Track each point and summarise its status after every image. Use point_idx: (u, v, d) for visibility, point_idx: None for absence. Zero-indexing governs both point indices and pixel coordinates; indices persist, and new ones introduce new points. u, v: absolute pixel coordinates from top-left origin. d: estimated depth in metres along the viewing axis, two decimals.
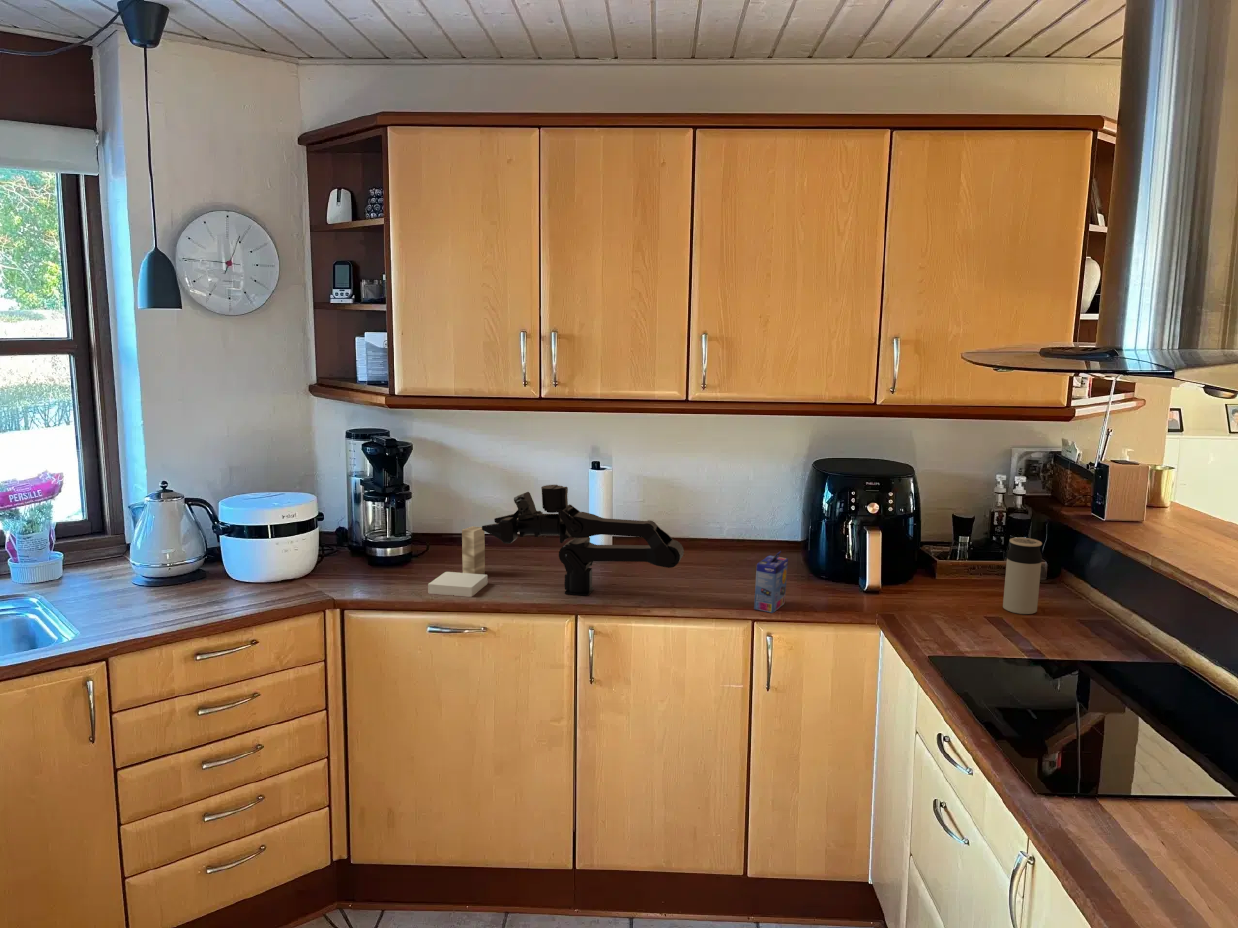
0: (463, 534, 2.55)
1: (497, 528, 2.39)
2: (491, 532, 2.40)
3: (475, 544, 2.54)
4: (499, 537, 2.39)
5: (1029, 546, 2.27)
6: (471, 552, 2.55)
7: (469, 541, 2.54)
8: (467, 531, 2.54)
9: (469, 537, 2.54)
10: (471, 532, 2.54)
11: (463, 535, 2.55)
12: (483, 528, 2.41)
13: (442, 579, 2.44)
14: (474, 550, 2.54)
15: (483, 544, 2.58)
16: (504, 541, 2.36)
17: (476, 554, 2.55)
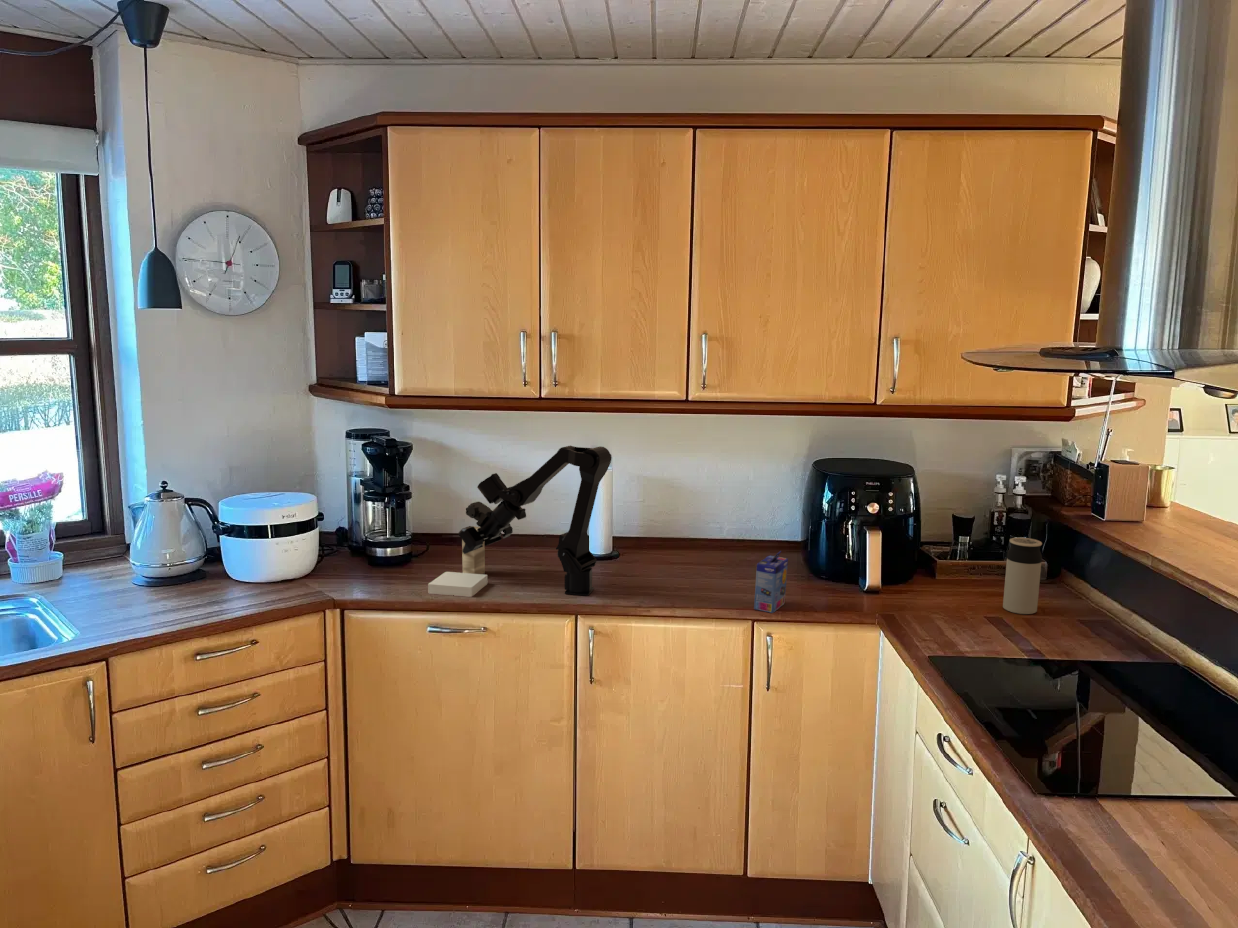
0: None
1: None
2: (469, 549, 2.53)
3: None
4: None
5: (1029, 546, 2.27)
6: (471, 552, 2.55)
7: None
8: None
9: None
10: None
11: None
12: (464, 551, 2.55)
13: (442, 579, 2.44)
14: (474, 550, 2.54)
15: (483, 544, 2.58)
16: (470, 547, 2.46)
17: (476, 553, 2.55)
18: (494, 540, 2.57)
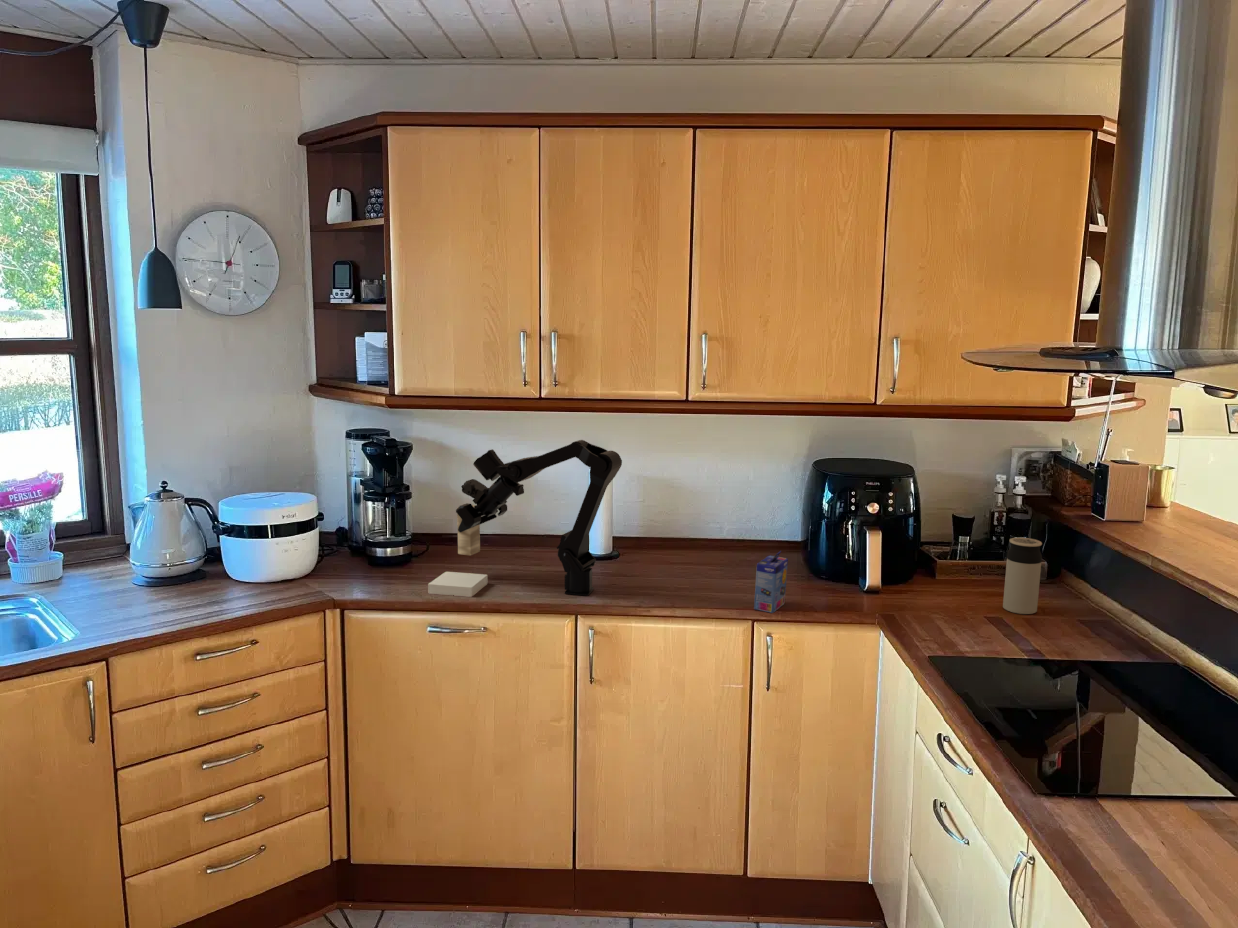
0: None
1: None
2: (465, 527, 2.49)
3: None
4: None
5: (1029, 546, 2.27)
6: (467, 530, 2.51)
7: None
8: None
9: None
10: None
11: None
12: (459, 530, 2.51)
13: (442, 579, 2.44)
14: (470, 528, 2.51)
15: None
16: (468, 525, 2.42)
17: (472, 532, 2.52)
18: (490, 518, 2.54)
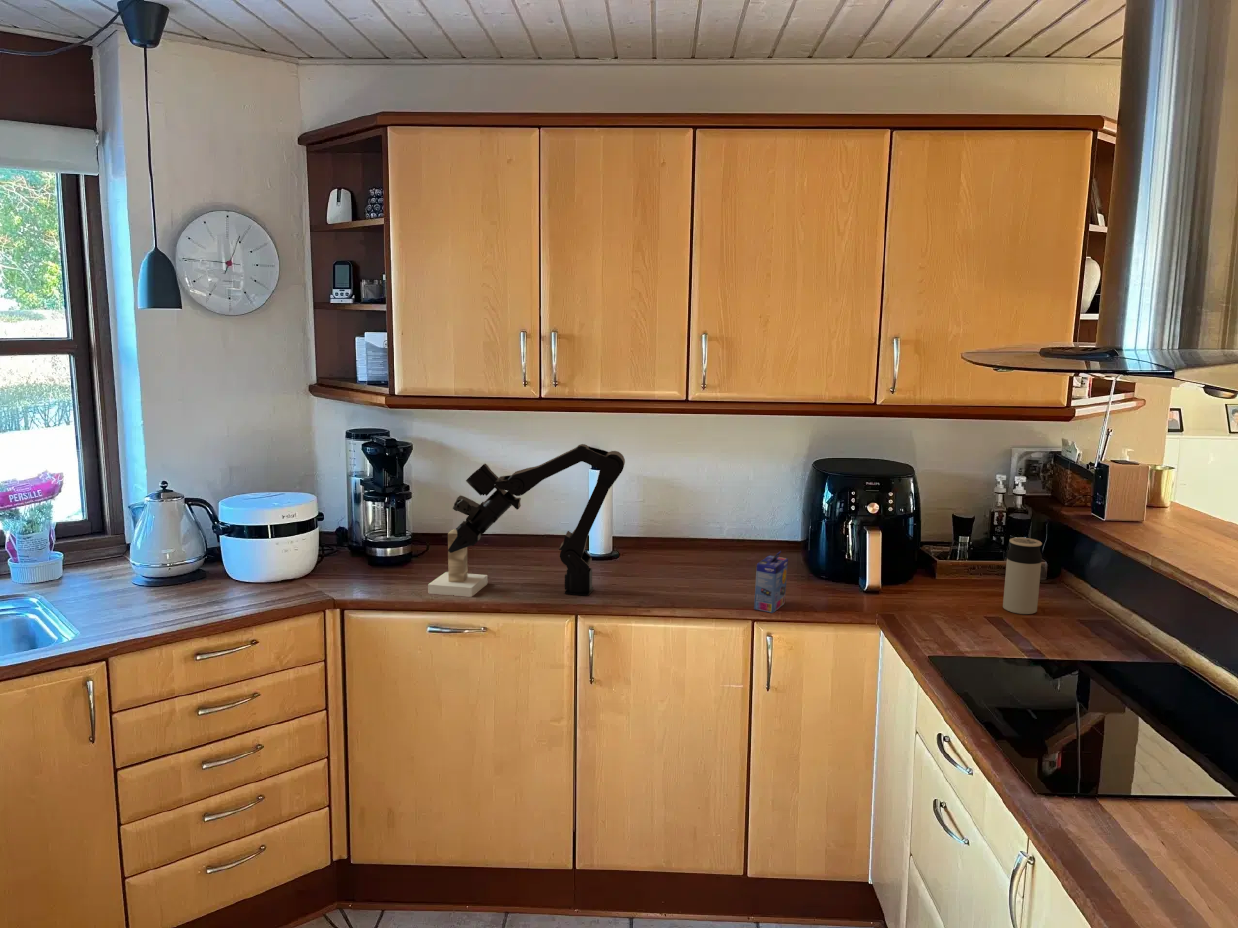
0: (449, 538, 2.40)
1: (460, 540, 2.38)
2: (458, 547, 2.38)
3: None
4: (467, 545, 2.37)
5: (1029, 546, 2.27)
6: (459, 556, 2.41)
7: None
8: (454, 534, 2.40)
9: None
10: None
11: (449, 539, 2.40)
12: (450, 550, 2.39)
13: (442, 579, 2.44)
14: (463, 553, 2.41)
15: (466, 547, 2.45)
16: (472, 543, 2.33)
17: (464, 557, 2.42)
18: None
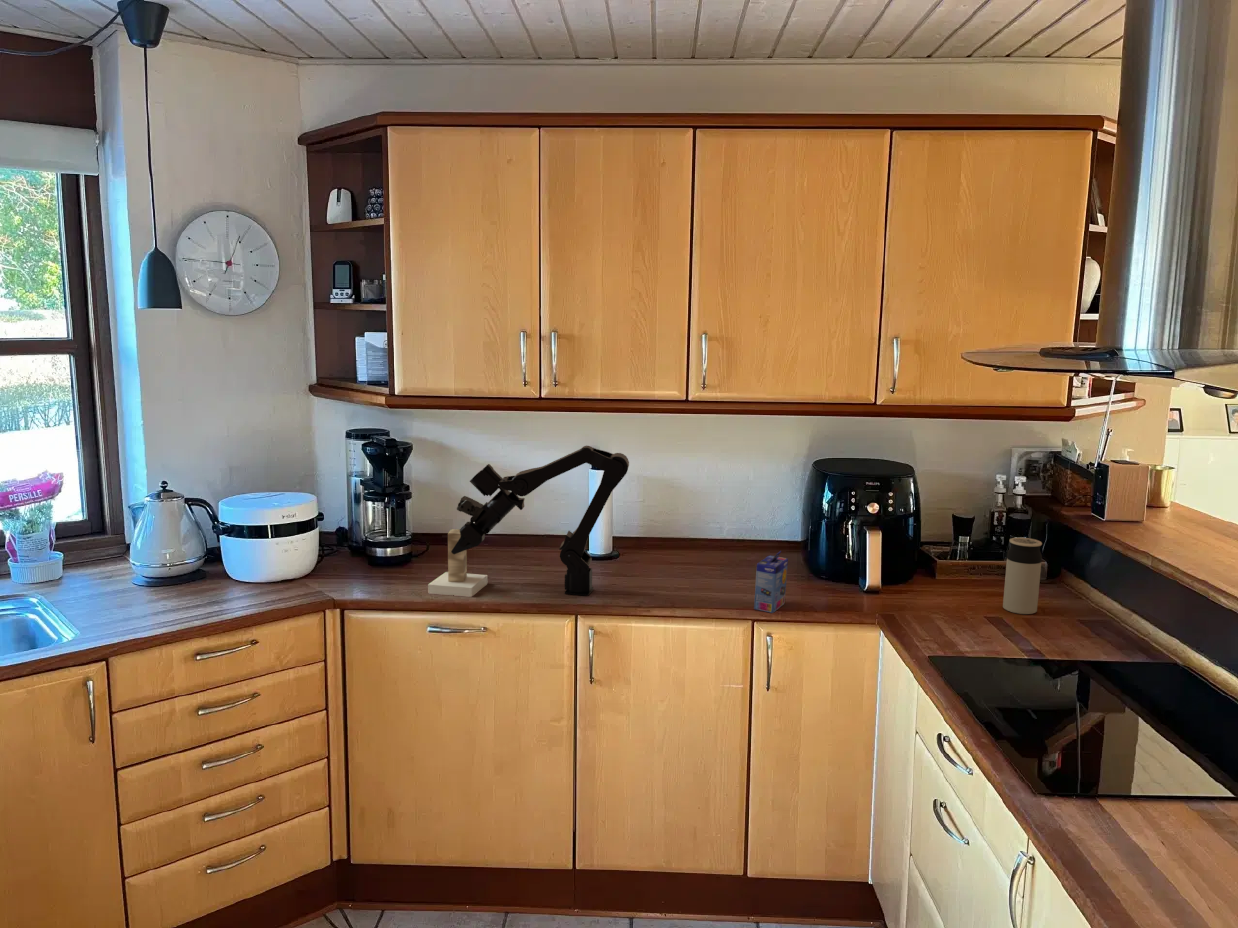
0: (449, 538, 2.40)
1: (463, 541, 2.37)
2: (462, 549, 2.37)
3: None
4: (470, 546, 2.36)
5: (1029, 546, 2.27)
6: (459, 555, 2.41)
7: None
8: (454, 534, 2.40)
9: (457, 540, 2.40)
10: None
11: (449, 539, 2.40)
12: (453, 552, 2.38)
13: (442, 579, 2.44)
14: (463, 553, 2.41)
15: None
16: (476, 544, 2.33)
17: (464, 557, 2.42)
18: (483, 533, 2.47)
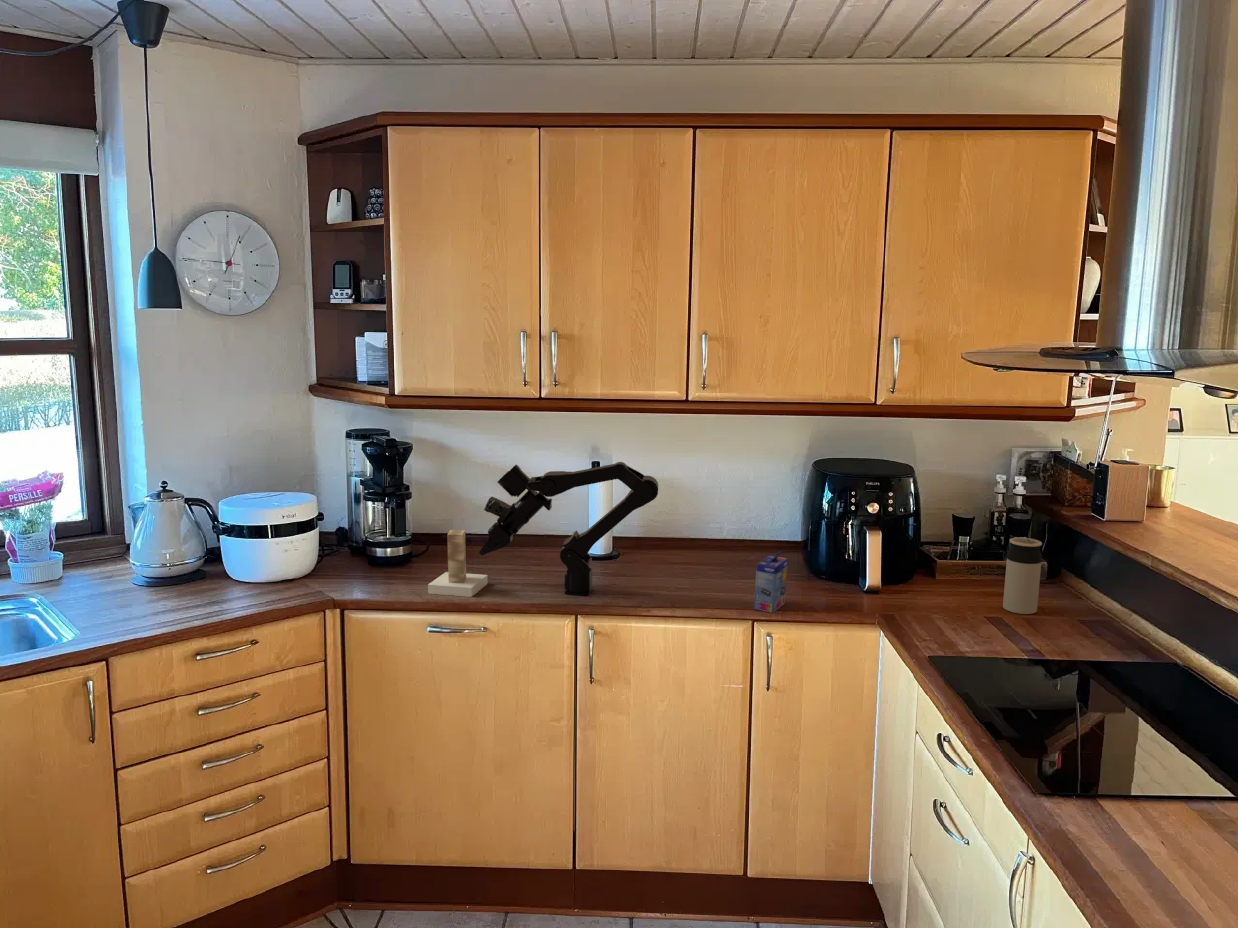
0: (449, 539, 2.40)
1: (491, 542, 2.36)
2: (490, 549, 2.37)
3: (463, 548, 2.41)
4: (499, 547, 2.36)
5: (1029, 546, 2.27)
6: (459, 556, 2.41)
7: (457, 545, 2.40)
8: (454, 535, 2.39)
9: (457, 541, 2.40)
10: (459, 536, 2.40)
11: (449, 540, 2.40)
12: (481, 552, 2.38)
13: (442, 580, 2.44)
14: (463, 554, 2.41)
15: (465, 547, 2.45)
16: (504, 544, 2.33)
17: (463, 558, 2.42)
18: None
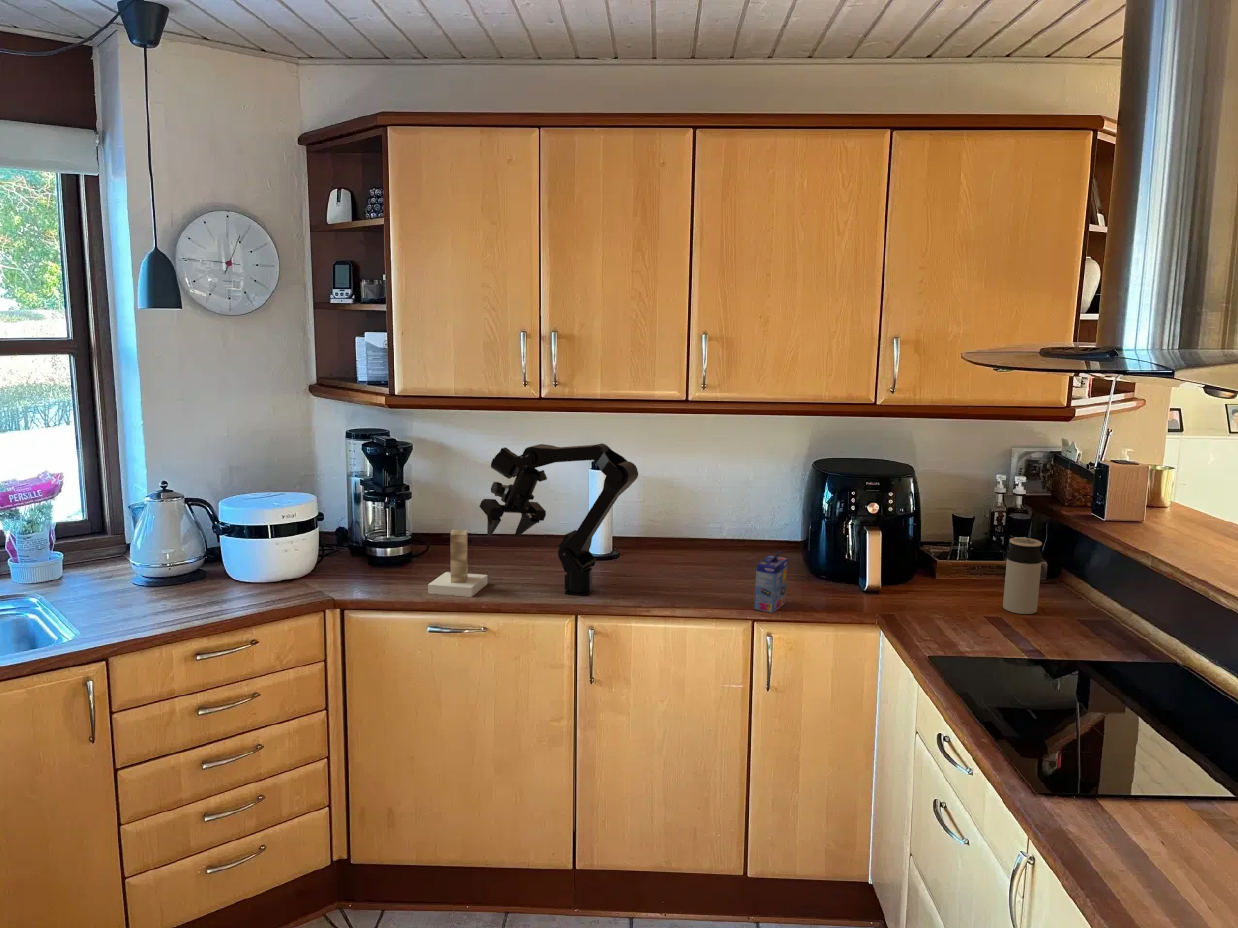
0: (452, 539, 2.40)
1: (491, 520, 2.45)
2: (490, 528, 2.45)
3: (466, 548, 2.41)
4: (493, 522, 2.43)
5: (1029, 546, 2.27)
6: (462, 556, 2.41)
7: (460, 545, 2.40)
8: (457, 535, 2.40)
9: (460, 541, 2.40)
10: (462, 535, 2.40)
11: (452, 540, 2.40)
12: (488, 534, 2.47)
13: (442, 579, 2.44)
14: (465, 554, 2.41)
15: None
16: (488, 515, 2.40)
17: (466, 558, 2.42)
18: (530, 521, 2.50)
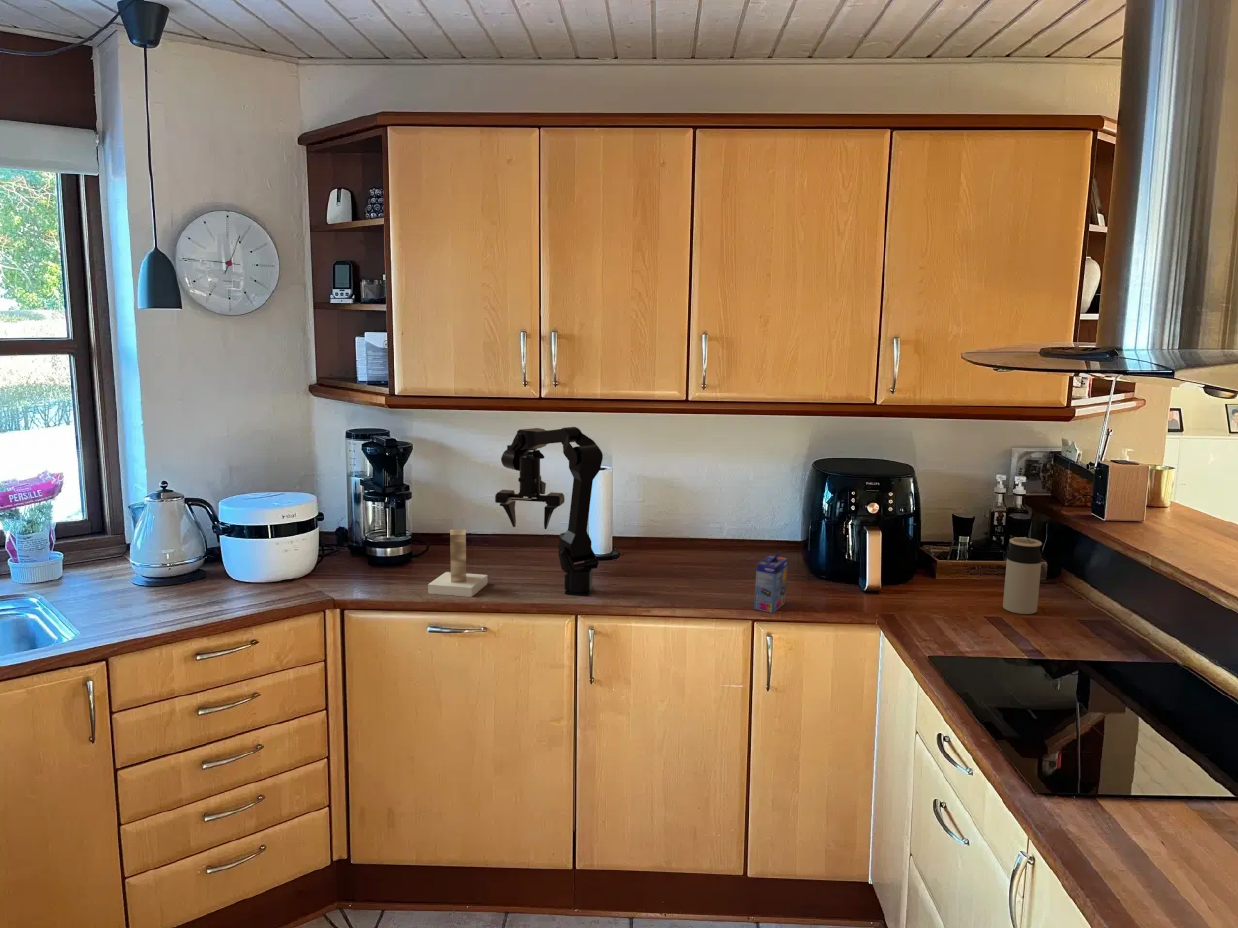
0: (452, 539, 2.40)
1: None
2: None
3: (465, 548, 2.41)
4: None
5: (1029, 546, 2.27)
6: (462, 556, 2.41)
7: (460, 545, 2.40)
8: (457, 535, 2.40)
9: (460, 541, 2.40)
10: (462, 535, 2.40)
11: (452, 540, 2.40)
12: None
13: (442, 579, 2.44)
14: (465, 554, 2.41)
15: None
16: (495, 500, 2.56)
17: None
18: None
